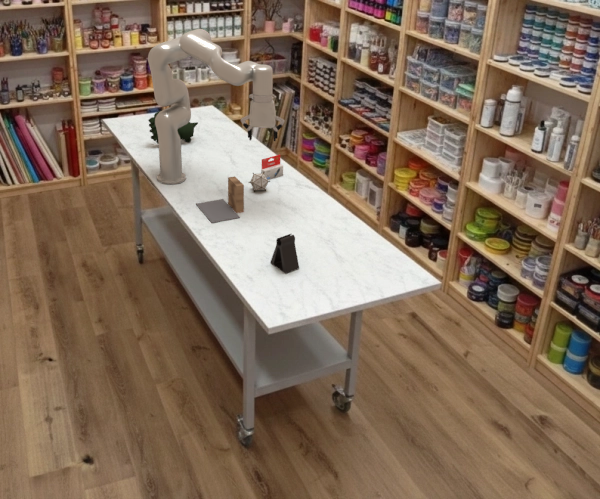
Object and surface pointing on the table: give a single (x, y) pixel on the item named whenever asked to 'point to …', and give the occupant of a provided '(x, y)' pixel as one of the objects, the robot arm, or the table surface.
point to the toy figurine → (184, 131)
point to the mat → (217, 211)
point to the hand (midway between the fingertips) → (262, 139)
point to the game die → (259, 181)
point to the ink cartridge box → (272, 167)
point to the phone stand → (285, 254)
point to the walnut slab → (235, 194)
